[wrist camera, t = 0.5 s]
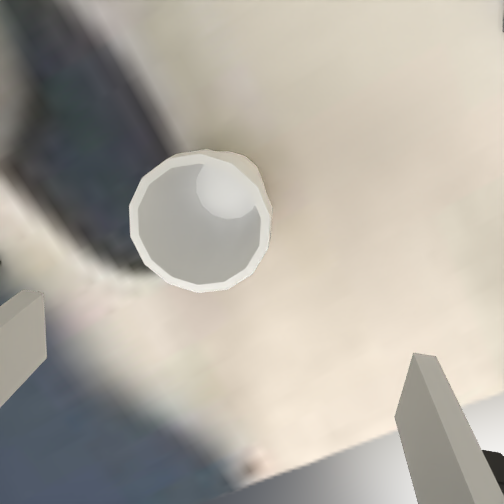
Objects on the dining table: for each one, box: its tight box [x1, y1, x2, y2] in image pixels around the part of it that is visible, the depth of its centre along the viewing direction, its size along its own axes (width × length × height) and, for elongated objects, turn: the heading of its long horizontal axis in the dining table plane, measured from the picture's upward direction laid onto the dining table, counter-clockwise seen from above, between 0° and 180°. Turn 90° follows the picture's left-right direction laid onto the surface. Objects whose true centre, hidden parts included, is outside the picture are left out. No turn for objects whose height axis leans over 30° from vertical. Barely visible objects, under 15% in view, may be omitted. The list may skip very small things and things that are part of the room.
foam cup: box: [129, 149, 273, 293], centre depth 36 cm, size 10×9×13 cm
